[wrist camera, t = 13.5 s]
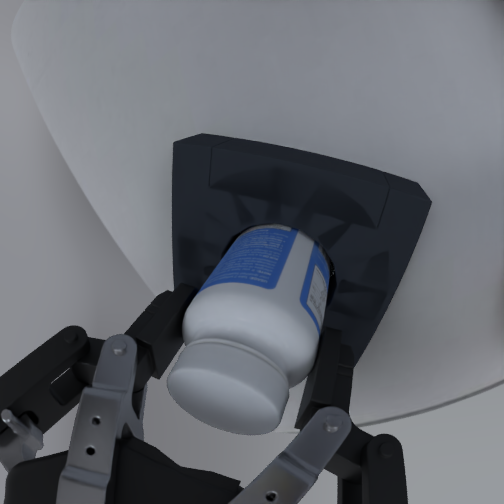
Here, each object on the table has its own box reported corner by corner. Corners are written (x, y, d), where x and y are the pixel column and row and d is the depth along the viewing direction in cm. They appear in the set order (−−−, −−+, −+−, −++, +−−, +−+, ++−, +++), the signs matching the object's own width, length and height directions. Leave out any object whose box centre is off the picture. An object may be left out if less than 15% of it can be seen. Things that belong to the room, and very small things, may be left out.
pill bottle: (224, 263, 18) (134, 389, 10) (264, 192, 15) (160, 317, 7) (299, 310, 18) (252, 453, 10) (352, 249, 15) (337, 416, 7)
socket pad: (195, 298, 22) (176, 323, 19) (201, 133, 15) (172, 141, 13) (352, 344, 19) (348, 377, 17) (418, 182, 13) (432, 201, 11)
